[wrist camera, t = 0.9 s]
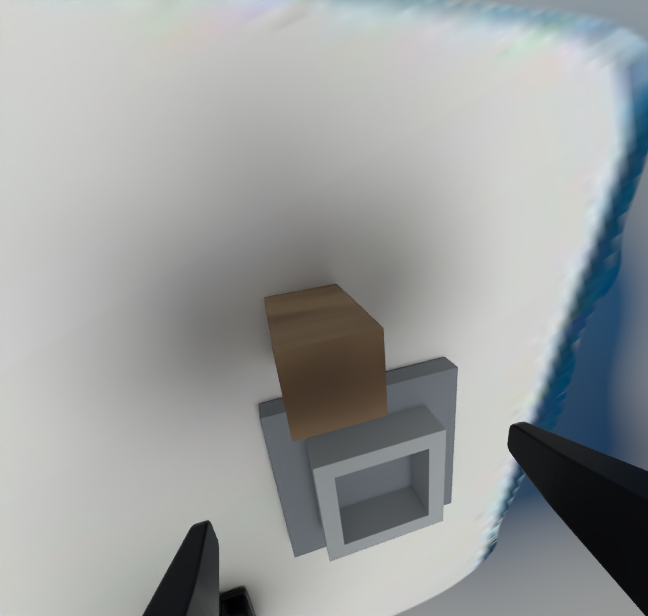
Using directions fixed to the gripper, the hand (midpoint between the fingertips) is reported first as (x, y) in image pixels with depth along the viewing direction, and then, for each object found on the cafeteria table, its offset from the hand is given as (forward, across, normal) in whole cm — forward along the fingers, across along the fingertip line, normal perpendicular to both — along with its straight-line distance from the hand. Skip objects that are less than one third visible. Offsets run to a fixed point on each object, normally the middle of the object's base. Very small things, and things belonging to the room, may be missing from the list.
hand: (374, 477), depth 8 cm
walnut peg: (+12, 0, 0) cm, 12 cm away
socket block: (+11, -3, +12) cm, 17 cm away
